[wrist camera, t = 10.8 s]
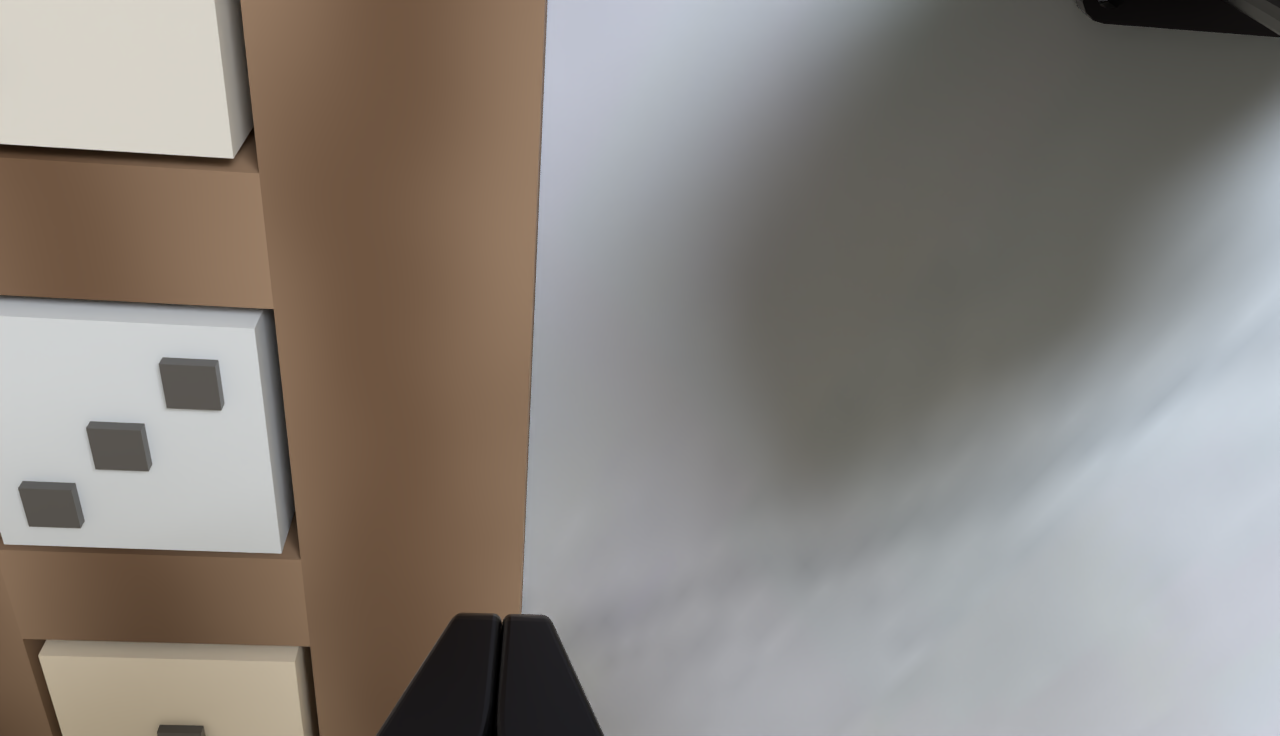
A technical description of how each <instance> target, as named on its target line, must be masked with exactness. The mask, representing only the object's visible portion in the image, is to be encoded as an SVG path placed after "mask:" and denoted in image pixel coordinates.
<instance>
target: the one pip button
mask: <svg viewBox="0 0 1280 736" xmlns="http://www.w3.org/2000/svg"><path fill="white" fill-rule="evenodd" d="M38 657H39V660H40V663H41V667H42V670H43V673H44V676H45V680H46V683H47V686H48V690H49V693H50V696H51V699H52V703H53V706H54V709H55V712H56V716H57V719H58V722H59V726H60V729H61V732H62V735H63V736H320V733H319V724H318V715H317V705H316V696H315V687H314V678H313V668H312V659H311V650H310V647H306V646H269V645H231V644H194V643H157V642H119V641H82V640H46V641H45V643H44V645H43V647H42V649H41V651H40V653H39V655H38Z"/></svg>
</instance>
